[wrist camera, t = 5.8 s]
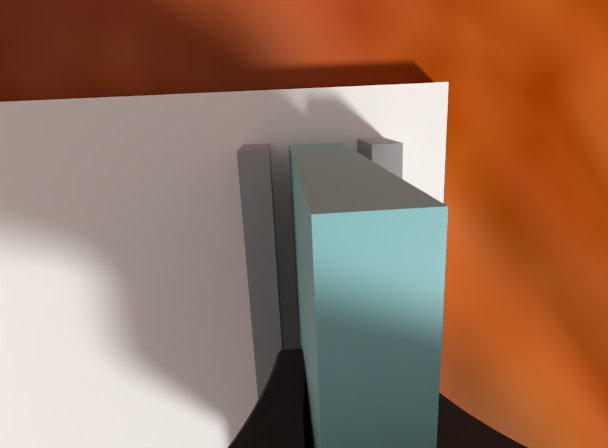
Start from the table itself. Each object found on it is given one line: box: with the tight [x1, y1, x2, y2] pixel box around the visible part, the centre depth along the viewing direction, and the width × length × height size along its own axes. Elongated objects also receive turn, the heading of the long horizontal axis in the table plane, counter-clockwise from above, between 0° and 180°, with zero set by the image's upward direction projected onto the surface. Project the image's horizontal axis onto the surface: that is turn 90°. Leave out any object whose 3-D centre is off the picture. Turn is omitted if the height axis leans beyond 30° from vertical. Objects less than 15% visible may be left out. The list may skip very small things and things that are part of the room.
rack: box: [0, 82, 448, 448], centre depth 13 cm, size 15×24×4 cm, turn 93°
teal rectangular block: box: [289, 143, 448, 448], centre depth 10 cm, size 12×2×8 cm, turn 3°
